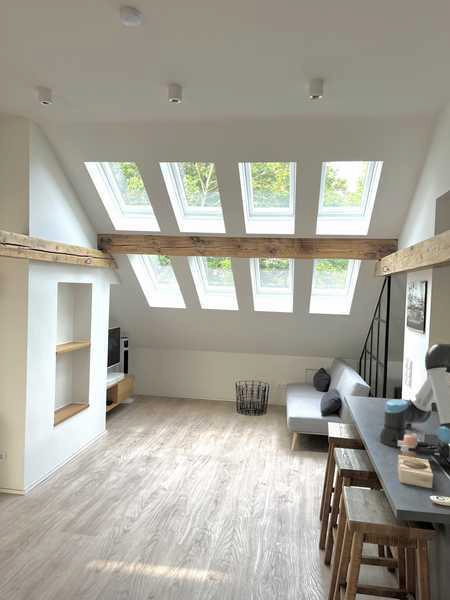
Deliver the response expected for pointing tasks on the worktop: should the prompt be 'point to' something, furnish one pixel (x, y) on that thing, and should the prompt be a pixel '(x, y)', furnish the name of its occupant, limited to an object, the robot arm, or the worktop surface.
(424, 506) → the worktop surface
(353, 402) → the worktop surface
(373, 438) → the worktop surface
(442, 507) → the worktop surface
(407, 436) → the slanted peach cylinder
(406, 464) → the plinth
